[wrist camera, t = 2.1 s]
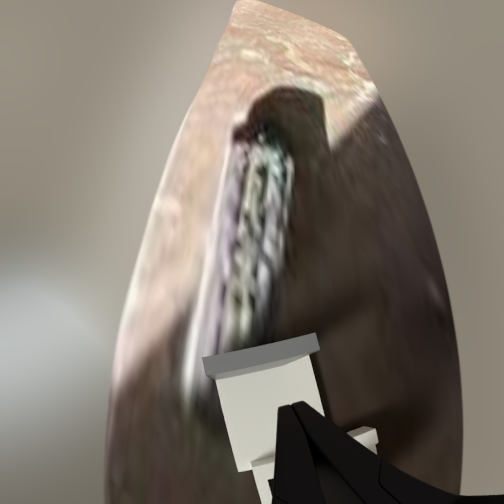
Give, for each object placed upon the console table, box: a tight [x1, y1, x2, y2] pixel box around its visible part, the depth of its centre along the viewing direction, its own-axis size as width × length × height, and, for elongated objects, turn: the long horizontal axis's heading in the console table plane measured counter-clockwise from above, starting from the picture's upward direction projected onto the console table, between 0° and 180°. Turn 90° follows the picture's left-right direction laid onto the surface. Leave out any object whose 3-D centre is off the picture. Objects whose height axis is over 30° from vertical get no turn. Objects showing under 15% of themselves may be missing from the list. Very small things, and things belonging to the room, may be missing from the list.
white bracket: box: [202, 333, 379, 504], centre depth 15 cm, size 13×10×10 cm
